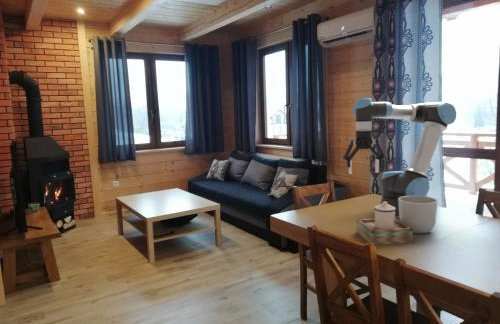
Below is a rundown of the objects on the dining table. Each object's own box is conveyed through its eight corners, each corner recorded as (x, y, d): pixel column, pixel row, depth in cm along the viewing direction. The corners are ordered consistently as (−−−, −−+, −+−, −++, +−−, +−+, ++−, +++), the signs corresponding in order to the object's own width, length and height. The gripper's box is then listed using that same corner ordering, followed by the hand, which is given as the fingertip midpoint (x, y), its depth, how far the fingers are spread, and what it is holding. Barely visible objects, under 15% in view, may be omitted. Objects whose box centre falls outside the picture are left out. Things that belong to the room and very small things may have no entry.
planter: (442, 229, 179) (443, 198, 177) (429, 239, 167) (429, 205, 165) (406, 223, 190) (406, 194, 189) (391, 231, 179) (392, 200, 177)
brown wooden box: (393, 229, 181) (393, 217, 180) (412, 242, 163) (412, 228, 162) (356, 232, 180) (356, 219, 179) (371, 244, 162) (371, 230, 161)
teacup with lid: (399, 229, 165) (399, 203, 164) (378, 230, 165) (378, 204, 163) (387, 222, 177) (388, 197, 176) (368, 223, 177) (368, 198, 175)
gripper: (385, 128, 189) (385, 170, 191) (336, 130, 187) (336, 173, 190) (391, 129, 181) (391, 172, 184) (341, 131, 180) (341, 175, 182)
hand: (363, 173), depth 187 cm, fingers open, 13 cm apart
